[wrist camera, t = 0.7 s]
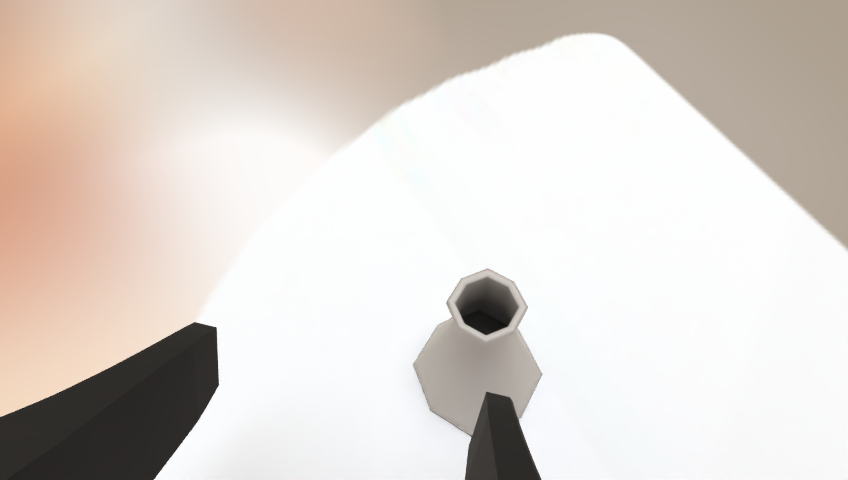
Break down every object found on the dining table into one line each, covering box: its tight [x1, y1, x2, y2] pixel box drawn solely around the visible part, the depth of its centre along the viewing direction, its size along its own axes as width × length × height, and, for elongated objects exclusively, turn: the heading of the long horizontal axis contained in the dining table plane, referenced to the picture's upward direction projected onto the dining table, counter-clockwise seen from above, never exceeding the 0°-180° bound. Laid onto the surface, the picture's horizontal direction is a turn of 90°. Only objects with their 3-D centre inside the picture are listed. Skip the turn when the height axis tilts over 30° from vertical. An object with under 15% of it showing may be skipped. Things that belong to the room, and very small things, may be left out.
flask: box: [414, 269, 542, 436], centre depth 24 cm, size 7×7×10 cm
